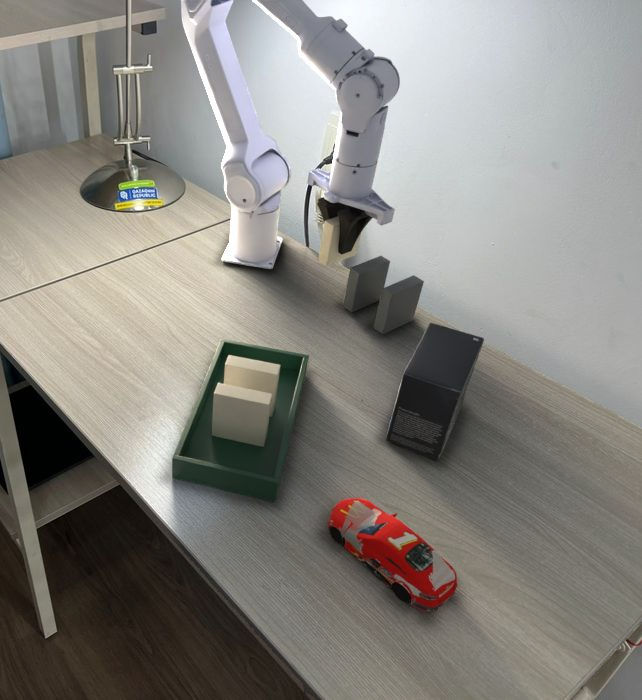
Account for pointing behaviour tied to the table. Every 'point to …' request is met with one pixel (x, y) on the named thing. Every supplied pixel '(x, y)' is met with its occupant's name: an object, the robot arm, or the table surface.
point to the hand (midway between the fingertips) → (339, 248)
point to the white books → (245, 400)
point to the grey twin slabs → (382, 294)
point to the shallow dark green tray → (233, 456)
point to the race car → (393, 553)
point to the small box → (433, 390)
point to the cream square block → (333, 243)
